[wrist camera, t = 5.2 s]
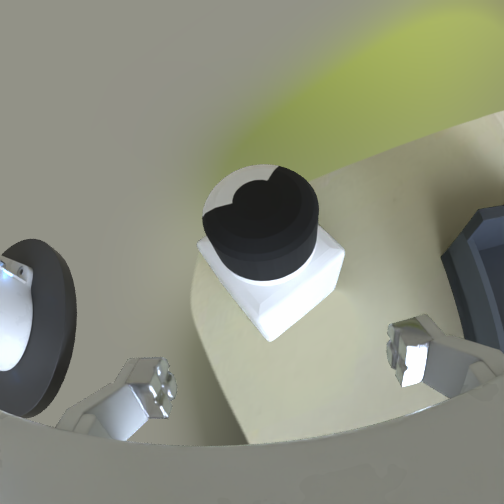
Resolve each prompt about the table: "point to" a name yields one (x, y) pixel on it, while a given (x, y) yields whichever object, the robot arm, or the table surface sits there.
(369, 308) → the table surface
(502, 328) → the drawer
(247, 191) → the medicine bottle
